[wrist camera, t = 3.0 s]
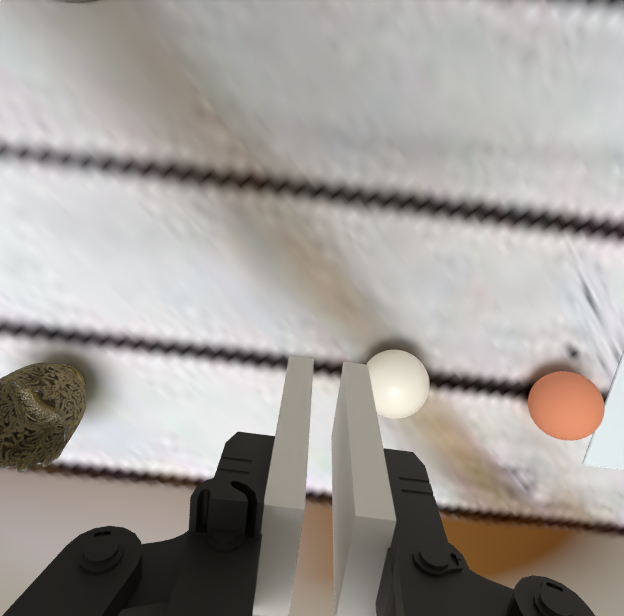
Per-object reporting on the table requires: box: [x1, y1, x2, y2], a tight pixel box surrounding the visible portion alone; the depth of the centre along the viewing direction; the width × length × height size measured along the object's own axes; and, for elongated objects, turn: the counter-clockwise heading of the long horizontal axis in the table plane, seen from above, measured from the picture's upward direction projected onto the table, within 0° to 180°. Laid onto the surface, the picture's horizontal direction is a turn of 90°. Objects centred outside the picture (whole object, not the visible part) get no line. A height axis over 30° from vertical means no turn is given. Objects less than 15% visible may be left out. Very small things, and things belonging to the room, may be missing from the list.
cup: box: [0, 363, 86, 472], centre depth 39 cm, size 8×7×8 cm
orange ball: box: [528, 371, 605, 440], centre depth 39 cm, size 6×6×6 cm
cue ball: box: [366, 350, 429, 419], centre depth 39 cm, size 6×6×6 cm
